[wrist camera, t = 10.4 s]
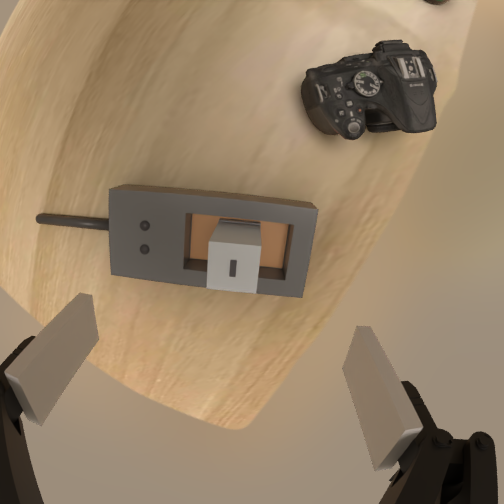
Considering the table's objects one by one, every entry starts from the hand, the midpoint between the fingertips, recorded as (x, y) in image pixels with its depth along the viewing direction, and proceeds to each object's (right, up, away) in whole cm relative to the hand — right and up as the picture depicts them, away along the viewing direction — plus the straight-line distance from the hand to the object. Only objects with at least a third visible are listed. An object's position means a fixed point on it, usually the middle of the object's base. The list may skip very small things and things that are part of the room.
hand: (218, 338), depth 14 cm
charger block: (0, +5, +17) cm, 18 cm away
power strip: (-9, +7, +18) cm, 21 cm away
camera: (+13, +20, +13) cm, 27 cm away
